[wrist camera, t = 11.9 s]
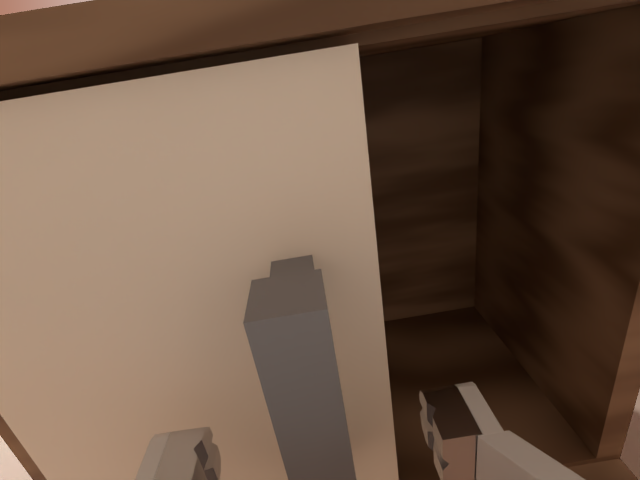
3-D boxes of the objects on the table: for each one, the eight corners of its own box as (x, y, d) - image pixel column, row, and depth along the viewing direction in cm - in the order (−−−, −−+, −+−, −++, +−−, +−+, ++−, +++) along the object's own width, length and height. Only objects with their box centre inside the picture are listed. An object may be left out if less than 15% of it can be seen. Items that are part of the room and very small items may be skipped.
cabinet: (647, 513, 17) (881, -127, 8) (74, 611, 16) (-386, 77, 7) (481, 310, 31) (493, 7, 22) (175, 361, 31) (61, 77, 22)
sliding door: (432, 643, 13) (403, 18, 5) (64, 707, 13) (-540, 172, 5) (396, 499, 17) (351, 46, 9) (122, 546, 17) (-152, 128, 9)
